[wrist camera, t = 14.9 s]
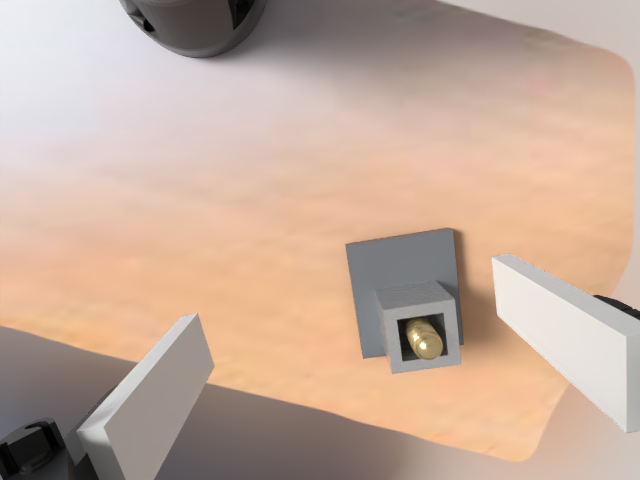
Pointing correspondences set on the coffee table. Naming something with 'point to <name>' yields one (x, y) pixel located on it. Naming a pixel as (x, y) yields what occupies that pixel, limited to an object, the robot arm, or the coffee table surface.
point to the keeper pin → (422, 337)
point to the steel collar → (413, 304)
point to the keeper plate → (399, 276)
